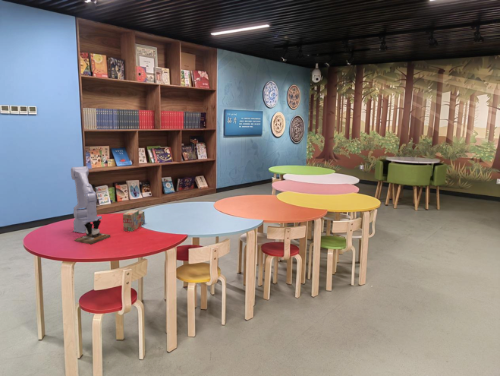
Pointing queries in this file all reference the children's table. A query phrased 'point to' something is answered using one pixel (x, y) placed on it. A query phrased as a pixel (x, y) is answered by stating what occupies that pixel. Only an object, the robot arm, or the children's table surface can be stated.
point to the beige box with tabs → (93, 232)
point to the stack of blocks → (133, 220)
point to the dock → (92, 238)
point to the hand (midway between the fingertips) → (92, 232)
